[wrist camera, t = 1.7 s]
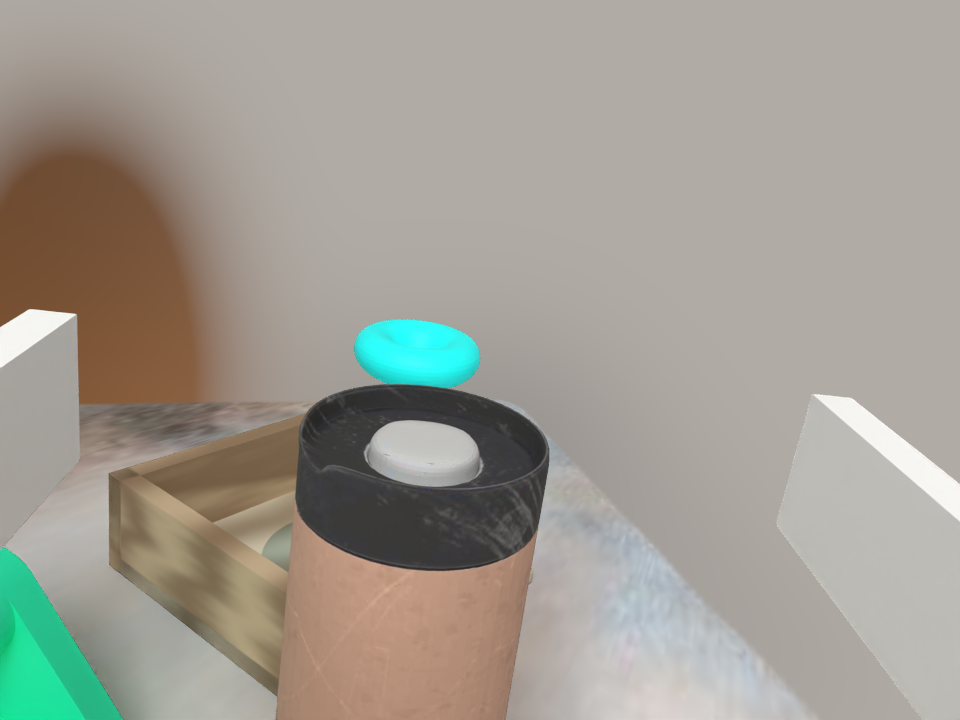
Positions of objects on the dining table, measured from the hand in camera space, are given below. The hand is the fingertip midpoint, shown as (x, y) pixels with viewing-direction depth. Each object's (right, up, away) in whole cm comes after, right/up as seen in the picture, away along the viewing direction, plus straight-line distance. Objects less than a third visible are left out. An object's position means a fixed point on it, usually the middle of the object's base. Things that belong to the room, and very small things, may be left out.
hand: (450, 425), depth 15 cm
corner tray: (-9, -12, +37) cm, 39 cm away
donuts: (-6, -6, +55) cm, 55 cm away
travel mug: (-4, -20, +17) cm, 26 cm away
